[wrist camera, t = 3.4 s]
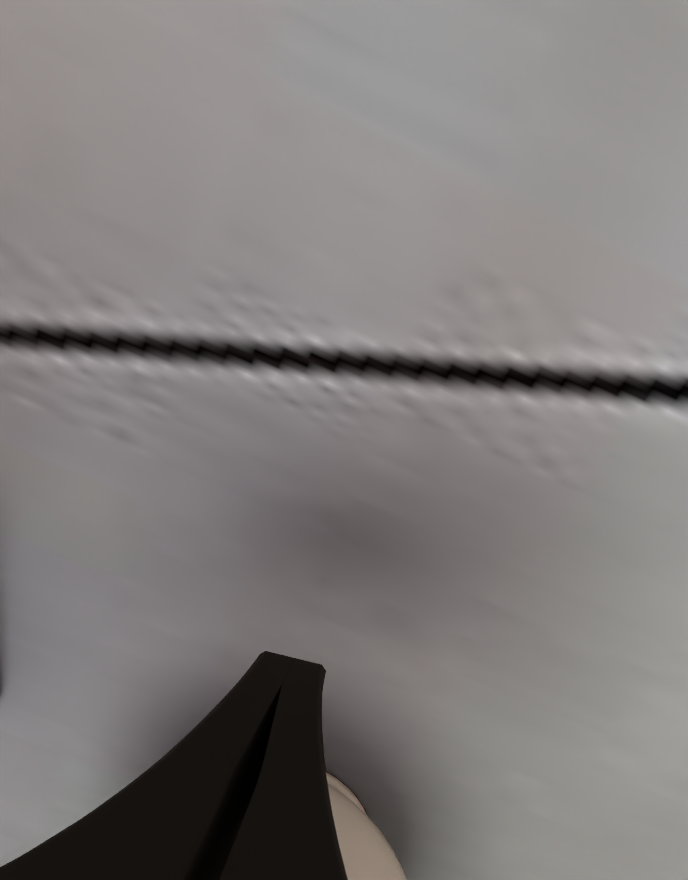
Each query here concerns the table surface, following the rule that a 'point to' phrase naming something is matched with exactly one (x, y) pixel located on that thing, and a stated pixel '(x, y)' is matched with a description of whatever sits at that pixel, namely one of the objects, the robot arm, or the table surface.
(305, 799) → the robot arm
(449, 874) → the table surface
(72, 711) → the table surface
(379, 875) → the trinket box
